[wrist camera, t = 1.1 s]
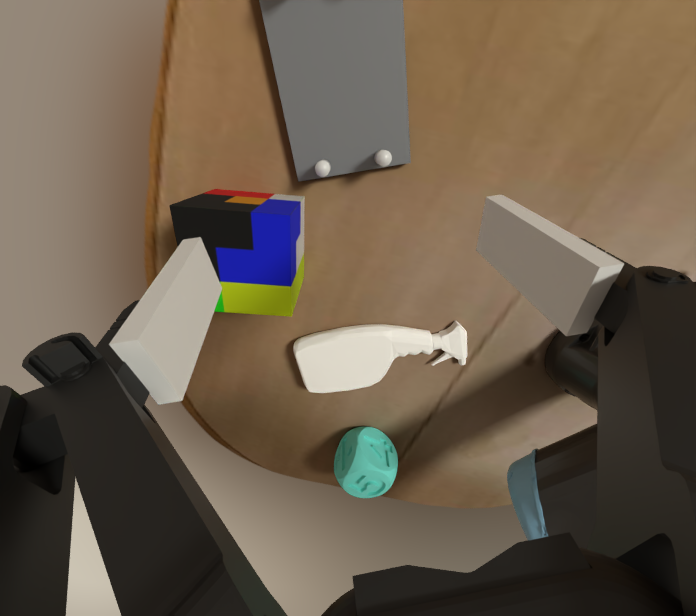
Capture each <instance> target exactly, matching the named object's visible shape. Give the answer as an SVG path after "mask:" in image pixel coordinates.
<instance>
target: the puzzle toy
mask: <svg viewBox="0 0 696 616" xmlns="http://www.w3.org/2000/svg"><path fill="white" fill-rule="evenodd" d="M170 210H171V215H172V221H173V226H174V231H175V236H176V241H177V246H179V245H180V243H181V242H182V240H184V239H191V238H198V237H201V239H202V242H203V244H204V246H205V249H206V251H207V253H208V256H209V258H210V261H211V263H212V265H213V268H214V270H215V272H216V275H217V277H218V279H219V282H220V284H221V287H222V291H221V294H220V296H219V299H218V302H217V305H216V308H215V310H214V312H230V313H245V314H261V315H276V316H292V314H293V311H294V307H295V304H296V301H297V298H298V294H299V291H300V288H301V285H302V281H303V278H304V196H293V195H281V194H269V193H257V192H244V191H232V190H220V189H214V190H211V191H208V192H205V193H203V194H200V195H197V196H194V197H192V198H189V199H186V200H183V201H180V202H178V203H175V204H172V205H170Z"/></svg>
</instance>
